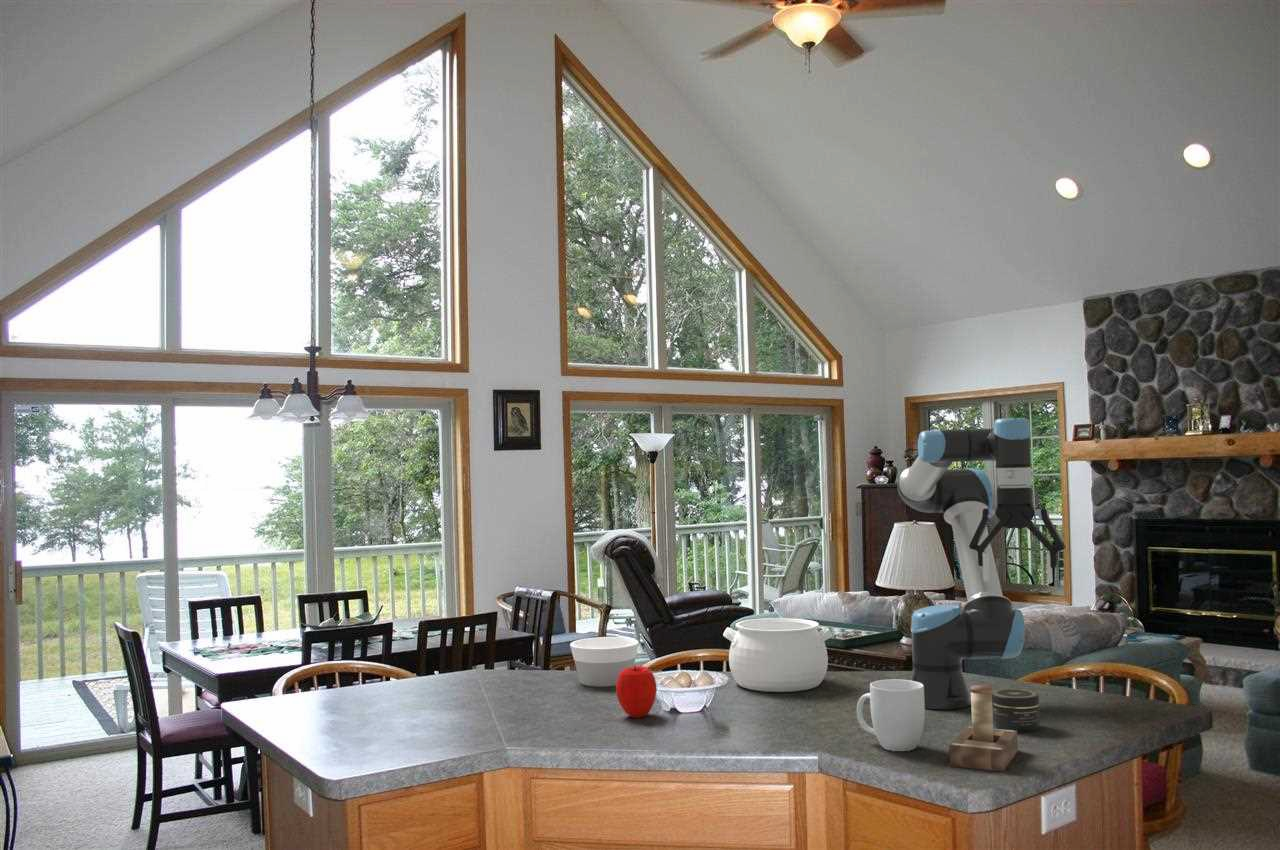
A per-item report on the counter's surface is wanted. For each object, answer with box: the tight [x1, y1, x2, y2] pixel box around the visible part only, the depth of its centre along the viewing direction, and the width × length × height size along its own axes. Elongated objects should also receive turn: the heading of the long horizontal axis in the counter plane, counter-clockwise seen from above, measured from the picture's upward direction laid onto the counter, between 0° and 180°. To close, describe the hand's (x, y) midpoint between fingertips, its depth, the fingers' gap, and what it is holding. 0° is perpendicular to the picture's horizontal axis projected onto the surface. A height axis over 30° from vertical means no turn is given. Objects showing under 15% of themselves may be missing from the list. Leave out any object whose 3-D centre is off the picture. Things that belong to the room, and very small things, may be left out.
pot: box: [722, 617, 833, 693], centre depth 287 cm, size 29×26×16 cm
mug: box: [856, 679, 926, 752], centre depth 223 cm, size 15×11×13 cm
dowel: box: [970, 684, 994, 742], centre depth 213 cm, size 4×4×14 cm
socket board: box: [948, 725, 1019, 772], centre depth 213 cm, size 10×16×4 cm, turn 151°
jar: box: [992, 688, 1040, 733], centre depth 236 cm, size 10×10×8 cm
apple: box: [615, 664, 658, 719], centre depth 256 cm, size 10×10×12 cm
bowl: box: [569, 636, 640, 688], centre depth 297 cm, size 19×19×11 cm
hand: (1017, 581), depth 239 cm, fingers open, 13 cm apart
